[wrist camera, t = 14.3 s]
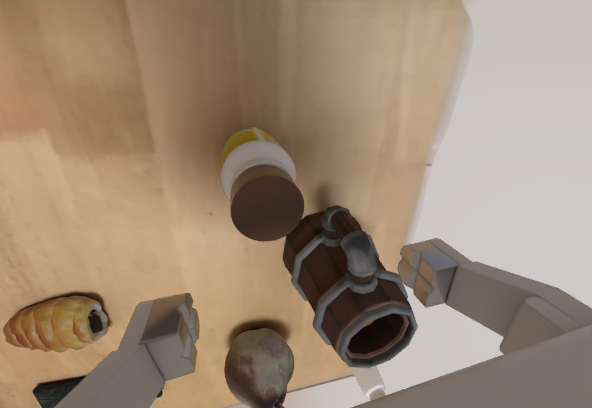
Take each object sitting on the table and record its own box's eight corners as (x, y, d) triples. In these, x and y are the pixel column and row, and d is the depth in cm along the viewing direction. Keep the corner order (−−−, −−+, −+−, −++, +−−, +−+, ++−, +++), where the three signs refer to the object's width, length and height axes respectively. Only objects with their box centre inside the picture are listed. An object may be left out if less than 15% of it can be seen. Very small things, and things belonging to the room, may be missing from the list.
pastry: (29, 341, 30) (4, 373, 26) (0, 302, 27) (-32, 332, 24) (115, 325, 32) (102, 353, 29) (97, 287, 29) (80, 313, 26)
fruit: (294, 320, 40) (318, 402, 30) (274, 357, 43) (289, 444, 33) (234, 314, 36) (236, 407, 26) (216, 356, 39) (212, 454, 29)
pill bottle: (221, 179, 27) (217, 231, 17) (222, 122, 24) (219, 146, 15) (275, 182, 29) (299, 231, 19) (282, 129, 26) (313, 154, 17)
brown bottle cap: (222, 172, 16) (221, 185, 14) (290, 157, 16) (299, 168, 14) (239, 230, 18) (241, 249, 16) (299, 215, 18) (308, 231, 16)
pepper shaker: (365, 331, 47) (401, 395, 37) (364, 348, 49) (397, 412, 40) (339, 340, 46) (369, 407, 36) (340, 356, 48) (367, 423, 39)
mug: (361, 264, 38) (430, 356, 25) (288, 286, 37) (322, 398, 23) (359, 173, 31) (454, 236, 18) (268, 195, 29) (300, 283, 16)
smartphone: (30, 391, 32) (155, 371, 36) (35, 383, 33) (157, 364, 36) (47, 418, 35) (162, 397, 38) (52, 410, 36) (163, 390, 39)
